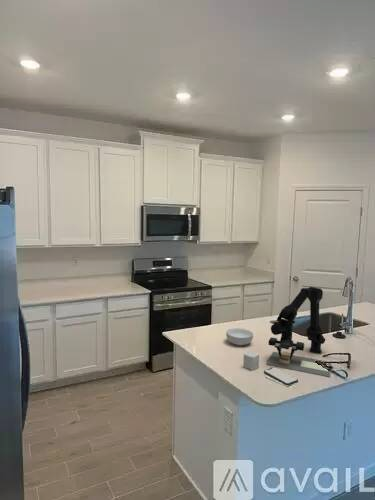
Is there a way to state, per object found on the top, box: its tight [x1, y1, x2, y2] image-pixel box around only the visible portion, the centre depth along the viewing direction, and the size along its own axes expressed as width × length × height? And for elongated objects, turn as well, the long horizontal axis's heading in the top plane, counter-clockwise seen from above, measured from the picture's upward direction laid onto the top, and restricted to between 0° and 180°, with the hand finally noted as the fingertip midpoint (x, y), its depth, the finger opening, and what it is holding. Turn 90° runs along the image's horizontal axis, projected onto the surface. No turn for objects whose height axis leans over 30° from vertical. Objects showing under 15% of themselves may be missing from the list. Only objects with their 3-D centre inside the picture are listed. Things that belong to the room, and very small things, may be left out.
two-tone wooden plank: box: [279, 351, 291, 365], centre depth 191 cm, size 12×5×3 cm, turn 156°
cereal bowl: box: [225, 327, 254, 346], centre depth 216 cm, size 17×17×7 cm
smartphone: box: [263, 366, 299, 386], centre depth 172 cm, size 9×2×16 cm
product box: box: [242, 351, 260, 371], centre depth 182 cm, size 6×6×7 cm
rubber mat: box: [266, 351, 332, 378], centre depth 188 cm, size 19×32×1 cm, turn 66°
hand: (285, 358), depth 191 cm, fingers closed on two-tone wooden plank, 5 cm apart
